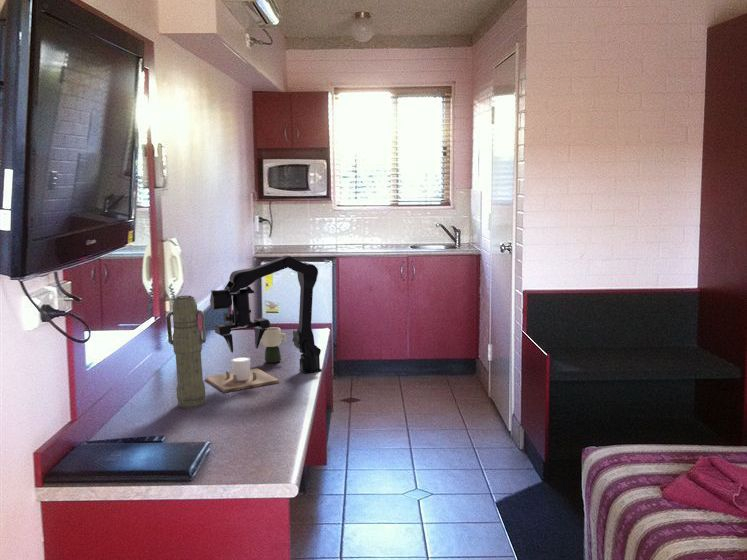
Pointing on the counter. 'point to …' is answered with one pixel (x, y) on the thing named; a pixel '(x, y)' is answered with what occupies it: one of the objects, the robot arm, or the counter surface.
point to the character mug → (272, 343)
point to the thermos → (187, 351)
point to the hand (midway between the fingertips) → (244, 350)
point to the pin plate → (230, 381)
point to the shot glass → (241, 368)
